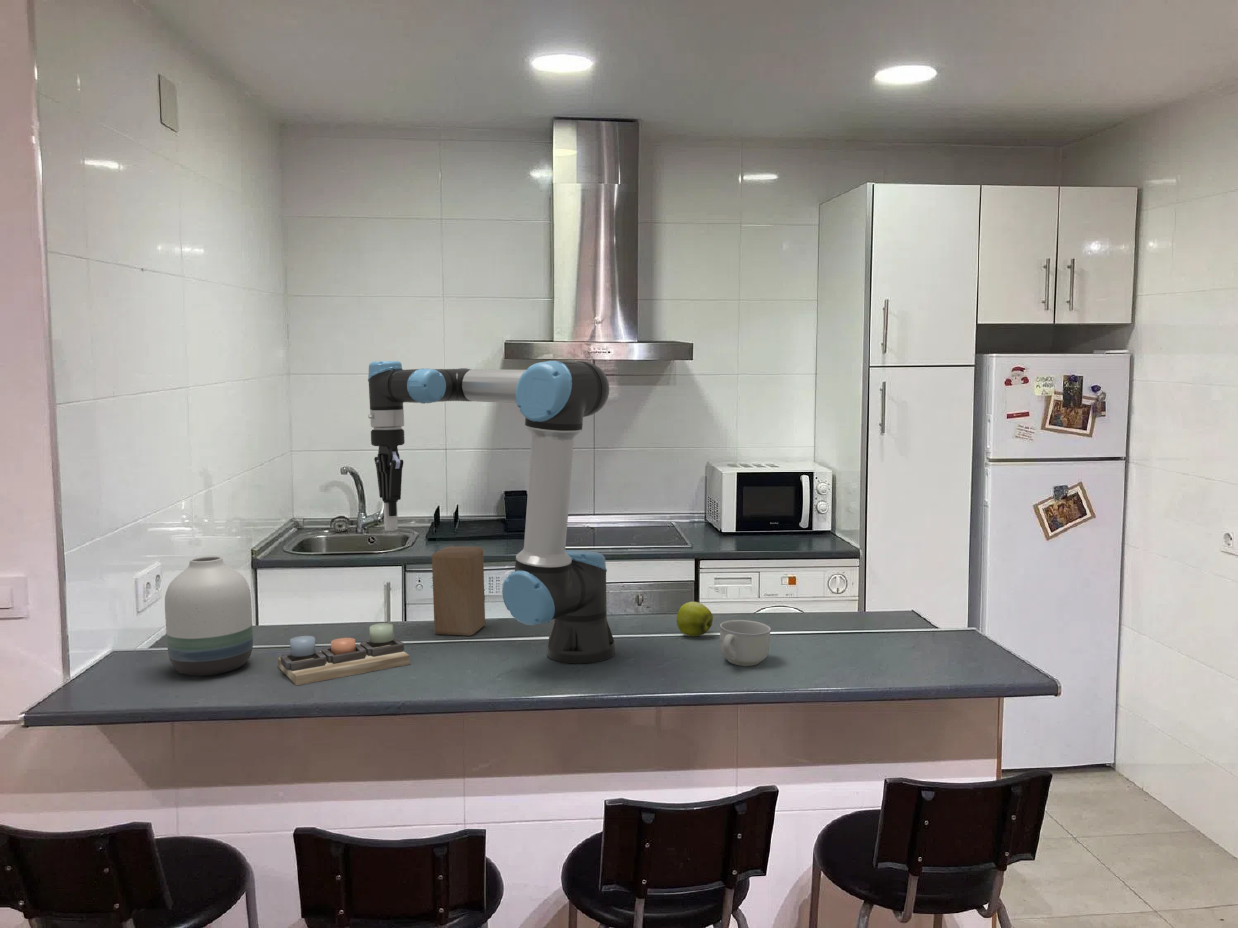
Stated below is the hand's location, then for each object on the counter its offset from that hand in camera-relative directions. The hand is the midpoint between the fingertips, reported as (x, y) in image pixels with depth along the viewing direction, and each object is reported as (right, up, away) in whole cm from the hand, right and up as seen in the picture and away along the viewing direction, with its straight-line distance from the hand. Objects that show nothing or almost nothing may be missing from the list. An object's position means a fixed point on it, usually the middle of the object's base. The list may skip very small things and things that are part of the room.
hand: (391, 529), depth 223 cm
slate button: (-13, -24, -22) cm, 35 cm away
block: (+14, -26, +10) cm, 31 cm away
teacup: (+79, -27, -19) cm, 86 cm away
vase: (-34, -29, -17) cm, 48 cm away
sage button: (+1, -23, -12) cm, 26 cm away
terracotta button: (-6, -26, -17) cm, 31 cm away
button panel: (-6, -28, -17) cm, 33 cm away
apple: (+71, -25, +3) cm, 75 cm away
